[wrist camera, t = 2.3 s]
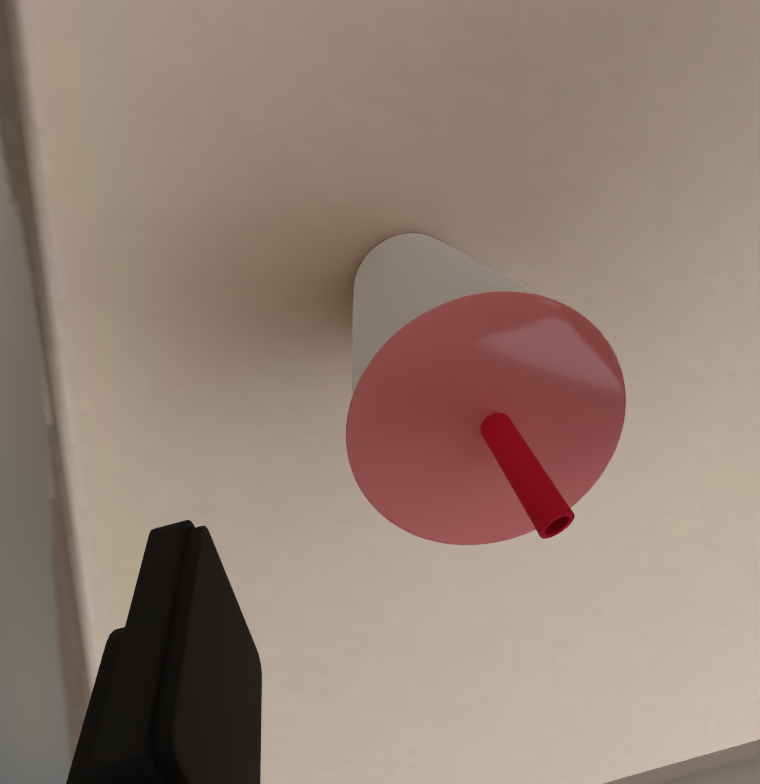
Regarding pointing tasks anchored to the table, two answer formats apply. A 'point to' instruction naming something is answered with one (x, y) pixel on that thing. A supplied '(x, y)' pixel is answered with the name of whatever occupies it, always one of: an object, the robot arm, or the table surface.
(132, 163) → the table surface
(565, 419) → the cup
